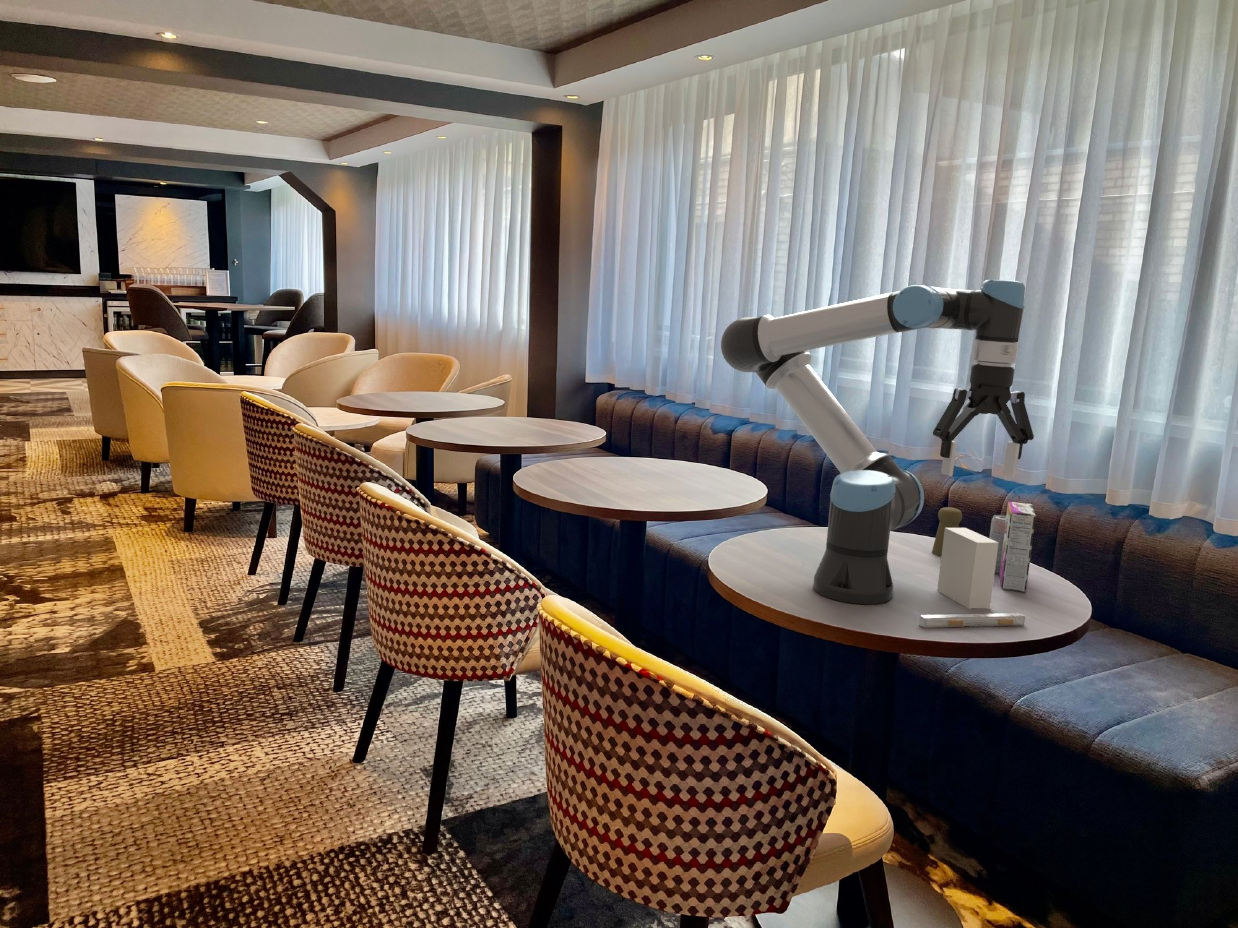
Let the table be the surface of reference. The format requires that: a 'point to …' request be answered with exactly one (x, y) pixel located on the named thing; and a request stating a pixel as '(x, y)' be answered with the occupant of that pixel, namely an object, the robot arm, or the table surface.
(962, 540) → the carton box
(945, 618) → the rail
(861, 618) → the table surface
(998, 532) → the energy drink
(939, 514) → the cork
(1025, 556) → the candy bar box
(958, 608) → the table surface
